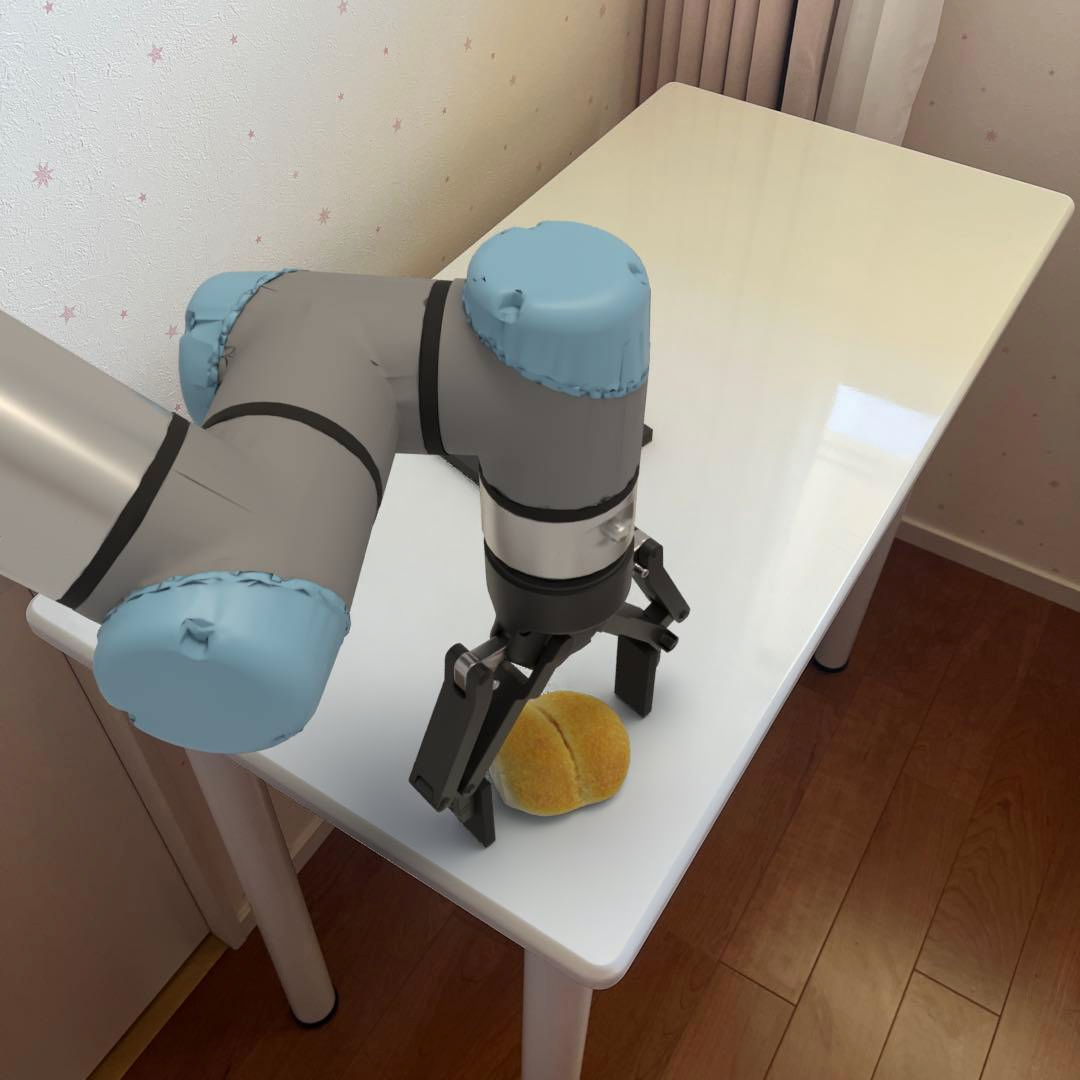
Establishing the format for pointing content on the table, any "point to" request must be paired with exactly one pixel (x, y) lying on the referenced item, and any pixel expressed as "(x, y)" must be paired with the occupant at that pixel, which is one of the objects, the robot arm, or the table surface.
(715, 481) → the table surface
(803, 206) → the table surface
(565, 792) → the bread roll
